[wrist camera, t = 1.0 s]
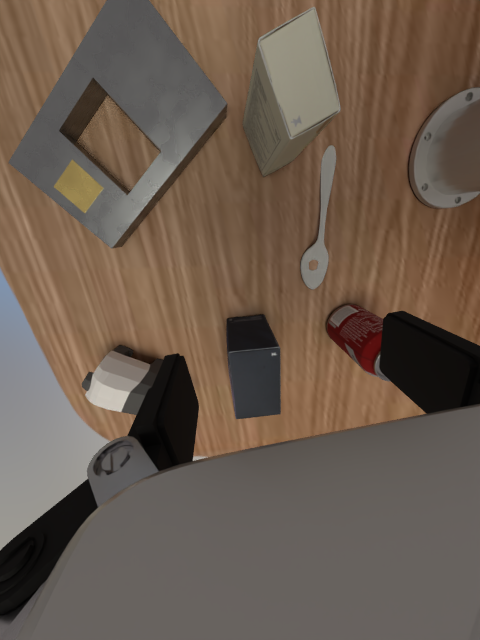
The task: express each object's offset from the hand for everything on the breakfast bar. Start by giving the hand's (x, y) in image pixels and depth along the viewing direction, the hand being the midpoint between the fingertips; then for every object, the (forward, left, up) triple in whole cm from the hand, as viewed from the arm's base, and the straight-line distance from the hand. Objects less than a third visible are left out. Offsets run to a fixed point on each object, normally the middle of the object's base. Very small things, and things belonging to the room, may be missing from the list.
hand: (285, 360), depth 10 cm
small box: (+8, +9, -24) cm, 27 cm away
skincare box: (-13, -9, -24) cm, 29 cm away
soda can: (-6, +18, -24) cm, 31 cm away
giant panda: (+22, 0, -24) cm, 32 cm away
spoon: (-13, +2, -25) cm, 28 cm away
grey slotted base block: (-1, -20, -24) cm, 31 cm away
